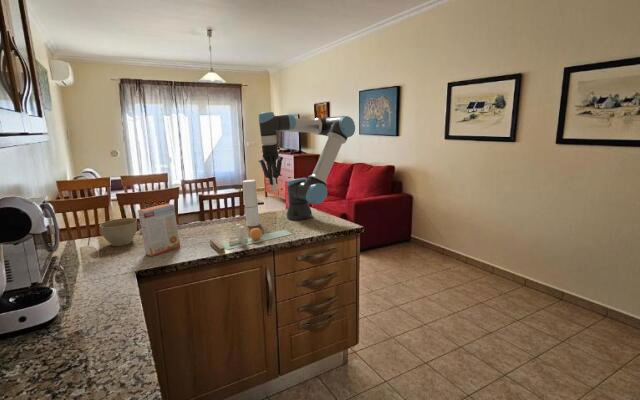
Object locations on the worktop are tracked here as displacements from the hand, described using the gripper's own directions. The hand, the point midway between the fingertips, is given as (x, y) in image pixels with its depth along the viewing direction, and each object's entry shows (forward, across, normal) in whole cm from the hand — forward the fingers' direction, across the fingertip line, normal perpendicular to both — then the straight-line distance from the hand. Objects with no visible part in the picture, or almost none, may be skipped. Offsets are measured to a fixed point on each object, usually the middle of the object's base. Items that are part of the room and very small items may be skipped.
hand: (274, 190), depth 176 cm
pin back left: (+21, +23, +8) cm, 32 cm away
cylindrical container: (+22, +5, -20) cm, 30 cm away
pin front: (+20, +20, +5) cm, 29 cm away
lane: (+21, +15, +6) cm, 26 cm away
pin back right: (+21, +23, +2) cm, 31 cm away
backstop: (+20, +35, +4) cm, 40 cm away
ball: (+18, +16, +6) cm, 25 cm away
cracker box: (+20, +55, -11) cm, 59 cm away
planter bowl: (+19, +68, -37) cm, 80 cm away
